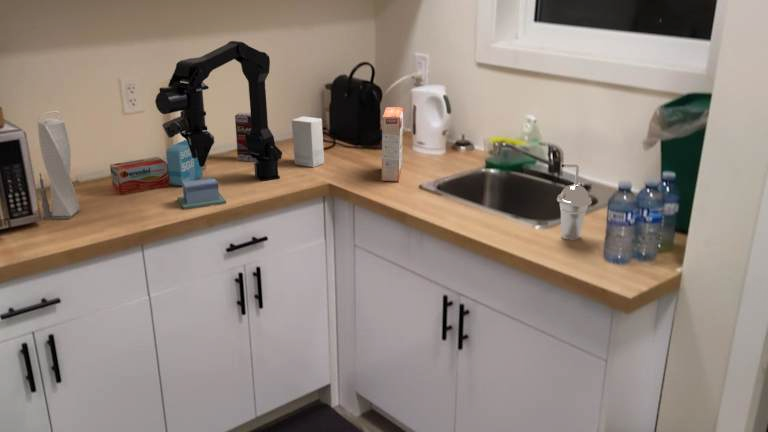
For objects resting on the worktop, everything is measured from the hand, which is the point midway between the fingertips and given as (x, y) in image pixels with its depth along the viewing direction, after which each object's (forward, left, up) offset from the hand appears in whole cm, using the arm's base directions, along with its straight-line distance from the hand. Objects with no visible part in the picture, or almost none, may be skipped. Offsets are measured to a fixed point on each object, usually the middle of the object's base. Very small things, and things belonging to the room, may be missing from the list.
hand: (198, 162), depth 200 cm
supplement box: (-25, -35, -12) cm, 45 cm away
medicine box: (+14, -21, -12) cm, 28 cm away
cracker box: (-61, +1, -12) cm, 62 cm away
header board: (0, 0, -12) cm, 12 cm away
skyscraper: (+36, -6, -12) cm, 38 cm away
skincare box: (-41, -22, -12) cm, 48 cm away
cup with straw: (-79, +66, -12) cm, 104 cm away
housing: (0, 0, -11) cm, 11 cm away
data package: (0, -21, -12) cm, 24 cm away
